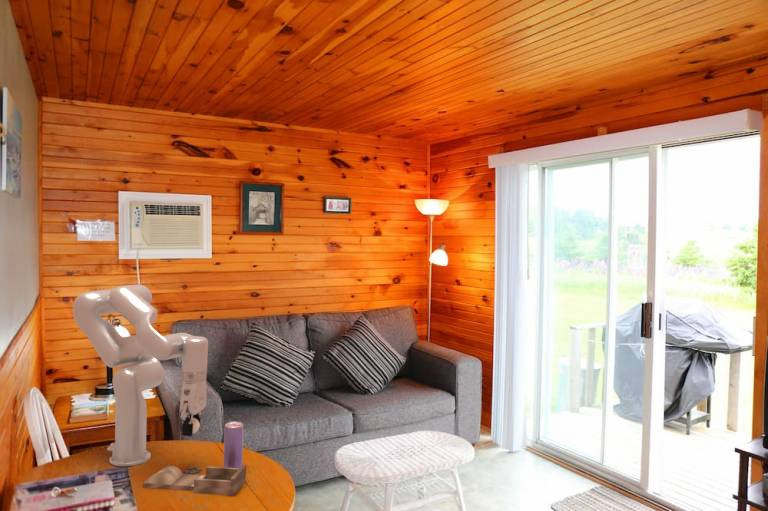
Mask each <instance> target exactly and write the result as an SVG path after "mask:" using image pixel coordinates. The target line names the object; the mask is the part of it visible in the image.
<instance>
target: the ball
mask: <svg viewBox="0 0 768 511" xmlns="http://www.w3.org/2000/svg"><path fill="white" fill-rule="evenodd" d="M189 419H190V417H189ZM192 423H193V434H196V433H197V432H199V431H200V429H199V427H200V428H201V422H200V423H199V421H198V420H197V419H196V418H193V419H192ZM193 434H192V435H193Z"/></svg>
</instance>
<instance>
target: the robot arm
mask: <svg viewBox="0 0 768 511" xmlns="http://www.w3.org/2000/svg"><path fill="white" fill-rule="evenodd" d="M152 300H153V295H152V292H151V290H150V289H149V288H148V287H147V286H145V285H142V284H127V285H120V286H117V287H114V288H113V289H98V290H91V291H86V292H85V291H84V292H83V293H80V294H79V295H78V296H76V298H75V299H74V301H73V304H72V315H73V316H72V317H73V318H74V321H75V323H76V325H77V326H78V328H79V329H80V330H81V331H82V332H83V334H84V335H85V336H86V337H87V338H88V340H89V341H90V344H91V345H92V346H93V348H94V349H95V351H96V353H97V354H98V356H99V357H100V359H101V360H102V362H103V364H105V365H106V366H107V367H108V368H112V369H113V368H114V369H115V368H119V367H121V368H119V369H118V370H117V371H116V372H115V373H114V375H113V376H112V389H113V393H114V401H115V407H114V408H115V415H114V416H115V420H114V421H115V422H114V423H115V424H114V426H115V427H114V429H115V430H114V432H115V433H114V442H111V443H110V444H109V446H107V449H106V451H107V452H111V453H112V454H111V456H109V459H108V460H109V461H108V462H109V463H110V465H112V466H115V467H131V466H132V467H134V466H138V465H141V464H144V463H146V462H148V461H149V460H150V459H151V458H152V457H151V456H152V454H151V452H150V451H148V450H147V415H148V414H147V412H148V409H147V406H148V405H147V401H146V399H145V397H144V395H143V392H144V391H147V390H151V389H154V388H156V387H158V386H160V385H161V384H162V382H163V381H164V378H165V371H164V369H165V368H164V367H163V364H162V363H161V361H167V360H171V359H175V358H180V357H182V359H181V360H182V362H181V376H180V377H181V380H180V381H181V382H182V386H181V391H180V392H181V393H180V401H179V402H180V403H179V412H180V416H179V417H180V419H181V423H182V426H181V427H182V428H181V436H183V437H192V436H193V423H192V419H193V418H196V419H197V420H198V421H199V423H200V424H201V416H202V410H204V409H205V408H206V406H207V374H208V373H207V372H208V353H209V341H208V338H206V336H200V335H193V334H189V333H188V332H176V333H171V334H166V335H162V334H161V333H160V332H158V330H156V329H154V327H153V326H152V325H154V323H155V321H156V319H158V310H157V308H155V307H154V306H153V305H152V304H151V303H152ZM110 314H120V315H121V316H122V317H123V318H124V319H125V320H127V322H128V323H129V324H131V326H133V327H134V328H135V335H130V336H129V335H128V336H121V335H120V333H119V332H118V331H117V329H116V327H115V326H114V325H113V324H112V323H111V322H110V321H108V320H107V319H105V318H104V317H102V316H103V315H104V316H105V315H110ZM189 418H190V419H189ZM199 430H201V426H200V427H199Z"/></svg>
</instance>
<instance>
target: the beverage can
mask: <svg viewBox="0 0 768 511" xmlns="http://www.w3.org/2000/svg"><path fill="white" fill-rule="evenodd" d="M243 464H244V424H243V422H241V421H229V422H226V423H225V424H224V428H223V463H222V466H223V467H226V468H240V467H241V466H242V465H243Z"/></svg>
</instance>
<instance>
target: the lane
mask: <svg viewBox="0 0 768 511" xmlns="http://www.w3.org/2000/svg"><path fill="white" fill-rule="evenodd" d="M246 477H247V465H242V466H241V467H240V468H226V467H222V466H210V465H209V466H206V468H205V475H203V474H201V475H200V474H192V475H191V474H186V473H184V472H182V470H181V469H180V468H179V467H177V466H175V465H166V466H164V467H163V468H162V469H160V470H159V471H157V472H154V473H153V474H152V475H150V476H149V477H148V478H147V479H146V480H145V481H144V482H142V488H143V489H144V488H145V489H159V490H161V489H162V490H174V491H191V492H193V493H195V494H208V495H210V494H211V495H212V494H213V495H226V496H229V497H231V496H232V497H234V496H236V495H237V493H238V492H239V491H240V490H241V489H242V487H243V486H244V484H245V483H246V480H247V478H246Z"/></svg>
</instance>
